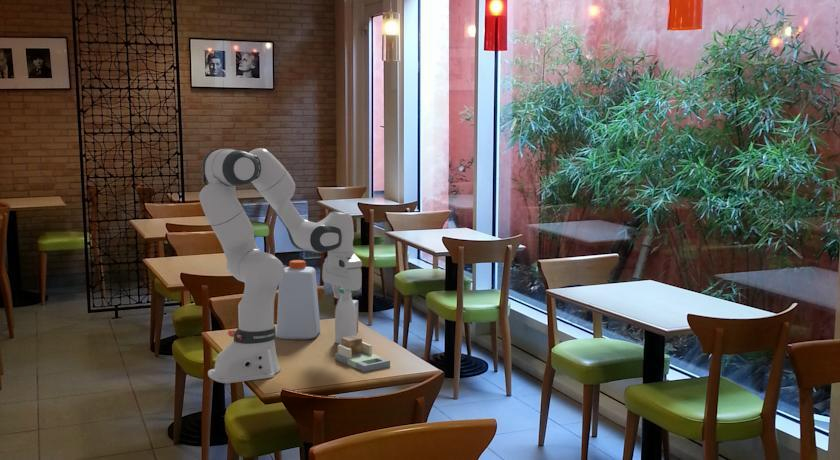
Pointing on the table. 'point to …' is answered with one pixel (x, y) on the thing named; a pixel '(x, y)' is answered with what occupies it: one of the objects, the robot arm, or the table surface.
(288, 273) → the plastic bottle
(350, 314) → the milk bottle
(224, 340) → the table surface
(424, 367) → the table surface
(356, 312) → the skincare box
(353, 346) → the block
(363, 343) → the grey tray
